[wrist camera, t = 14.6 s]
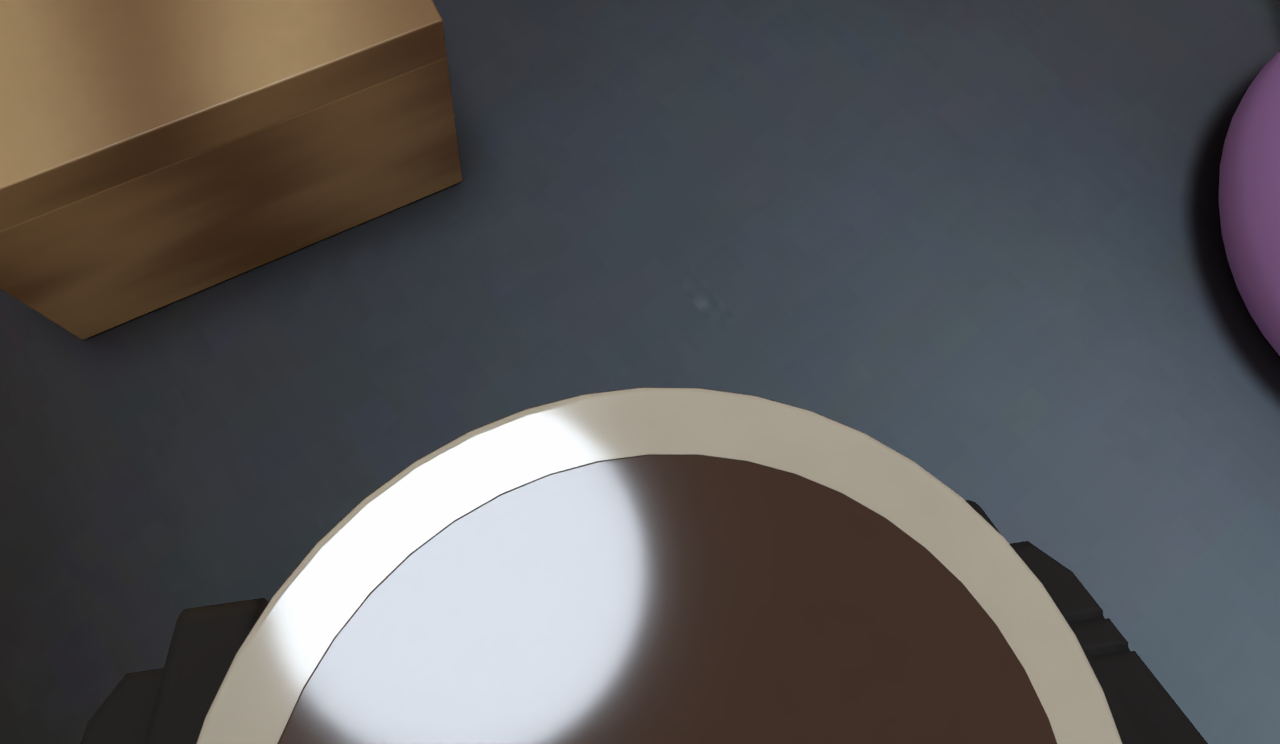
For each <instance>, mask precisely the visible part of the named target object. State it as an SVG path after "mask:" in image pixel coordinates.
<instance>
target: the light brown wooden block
mask: <svg viewBox="0 0 1280 744" xmlns="http://www.w3.org/2000/svg"><path fill="white" fill-rule="evenodd" d="M461 181H462V174H461V166H460V158H459V149H458V141H457V133H456V125H455V117H454V109H453V101H452V93H451V85H450V77H449V69H448V61H447V53H446V45H445V37H444V29H443V21H442V18H441V16H440V14H439V12H438V10H437V8H436V6H435V4H434V2H433V1H432V0H0V289H2V290H3V291H5V292H7V293H8V294H10V295H11V296H13V297H15V298H16V299H18V300H19V301H21V302H23V303H24V304H26V305H27V306H29V307H31V308H32V309H34V310H35V311H37V312H39V313H40V314H42V315H43V316H45V317H46V318H48V319H50V320H51V321H53V322H54V323H56V324H58V325H59V326H61V327H62V328H64V329H66V330H67V331H69V332H70V333H72V334H74V335H75V336H77V337H78V338H80V339H82V340H84V339H87V338H89V337H91V336H94V335H96V334H98V333H101V332H103V331H106V330H108V329H110V328H113V327H115V326H118V325H120V324H122V323H125V322H127V321H130V320H132V319H134V318H137V317H139V316H141V315H144V314H146V313H149V312H151V311H153V310H156V309H158V308H161V307H163V306H165V305H168V304H170V303H173V302H175V301H177V300H180V299H182V298H184V297H187V296H189V295H192V294H194V293H196V292H199V291H201V290H204V289H206V288H208V287H211V286H213V285H216V284H218V283H220V282H223V281H225V280H227V279H230V278H232V277H235V276H237V275H239V274H242V273H244V272H247V271H249V270H251V269H254V268H256V267H259V266H261V265H263V264H266V263H268V262H270V261H273V260H275V259H278V258H280V257H282V256H285V255H287V254H290V253H292V252H294V251H297V250H299V249H301V248H304V247H306V246H309V245H311V244H313V243H316V242H318V241H321V240H323V239H325V238H328V237H330V236H333V235H335V234H337V233H340V232H342V231H344V230H347V229H349V228H352V227H354V226H356V225H359V224H361V223H364V222H366V221H368V220H371V219H373V218H376V217H378V216H380V215H383V214H385V213H387V212H390V211H392V210H395V209H397V208H399V207H402V206H404V205H407V204H409V203H411V202H414V201H416V200H419V199H421V198H423V197H426V196H428V195H430V194H433V193H435V192H438V191H440V190H442V189H445V188H447V187H450V186H452V185H454V184H457V183H459V182H461Z"/></svg>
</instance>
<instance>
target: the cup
mask: <svg viewBox="0 0 1280 744" xmlns="http://www.w3.org/2000/svg"><path fill="white" fill-rule="evenodd" d="M196 744H1122V742H1121V739H1120V736H1119V733H1118V731H1117V728H1116V725H1115V722H1114V719H1113V717H1112V714H1111V711H1110V708H1109V706H1108V703H1107V700H1106V697H1105V695H1104V692H1103V690H1102V688H1101V686H1100V684H1099V682H1098V680H1097V678H1096V676H1095V674H1094V672H1093V670H1092V668H1091V666H1090V664H1089V662H1088V660H1087V658H1086V655H1085V653H1084V651H1083V649H1082V647H1081V645H1080V643H1079V641H1078V639H1077V637H1076V635H1075V634H1074V632H1073V631H1072V629H1071V628H1070V626H1069V625H1068V623H1067V622H1066V620H1065V618H1064V617H1063V615H1062V614H1061V612H1060V611H1059V609H1058V608H1057V606H1056V605H1055V603H1054V601H1053V600H1052V598H1051V597H1050V595H1049V594H1048V592H1047V591H1046V589H1045V588H1044V586H1043V584H1042V583H1041V582H1040V581H1039V580H1038V578H1037V577H1036V576H1035V575H1034V574H1033V572H1032V571H1031V570H1030V569H1029V567H1028V566H1027V565H1026V564H1025V563H1024V561H1023V560H1022V559H1021V558H1020V557H1019V555H1018V554H1017V553H1016V552H1015V551H1014V549H1013V548H1012V547H1011V546H1010V545H1009V543H1008V542H1007V541H1006V540H1005V538H1004V537H1003V536H1002V535H1001V534H1000V533H999V532H997V531H996V530H995V529H994V528H993V527H992V526H991V525H990V524H989V523H988V522H987V521H986V520H985V519H984V518H983V517H982V516H981V515H980V514H979V513H978V512H976V511H975V510H974V509H973V508H972V507H971V506H970V505H969V504H968V503H967V502H966V501H965V500H964V499H963V498H962V497H961V496H960V495H958V494H957V493H956V492H954V491H953V490H952V489H950V488H949V487H948V486H946V485H945V484H943V483H942V482H941V481H939V480H938V479H937V478H935V477H934V476H933V475H931V474H930V473H929V472H927V471H926V470H925V469H923V468H922V467H921V466H919V465H918V464H917V463H915V462H914V461H912V460H911V459H909V458H907V457H905V456H904V455H902V454H900V453H898V452H897V451H895V450H893V449H891V448H890V447H888V446H886V445H884V444H883V443H881V442H879V441H877V440H875V439H874V438H872V437H870V436H868V435H867V434H865V433H863V432H861V431H858V430H856V429H854V428H851V427H849V426H846V425H844V424H841V423H839V422H837V421H834V420H832V419H829V418H827V417H825V416H822V415H820V414H817V413H815V412H812V411H810V410H806V409H803V408H799V407H795V406H792V405H788V404H784V403H781V402H777V401H773V400H770V399H766V398H762V397H758V396H755V395H747V394H740V393H733V392H726V391H718V390H711V389H704V388H669V387H639V388H631V389H622V390H614V391H606V392H598V393H590V394H582V395H578V396H574V397H570V398H566V399H563V400H559V401H555V402H551V403H547V404H543V405H539V406H535V407H531V408H527V409H524V410H522V411H519V412H517V413H514V414H511V415H509V416H506V417H504V418H501V419H499V420H496V421H494V422H491V423H489V424H486V425H484V426H481V427H479V428H476V429H474V430H471V431H469V432H467V433H465V434H463V435H462V436H460V437H458V438H456V439H454V440H453V441H451V442H449V443H447V444H445V445H444V446H442V447H440V448H438V449H436V450H434V451H433V452H431V453H429V454H427V455H425V456H424V457H422V458H420V459H418V460H416V461H415V462H413V463H412V464H411V465H409V466H408V467H406V468H405V469H404V470H402V471H401V472H400V473H398V474H397V475H396V476H394V477H393V478H391V479H390V480H389V481H387V482H386V483H385V484H383V485H382V486H380V487H379V488H378V489H376V490H375V491H374V492H372V493H371V494H369V495H368V496H367V497H365V498H364V499H363V500H362V501H361V502H360V503H359V504H358V505H357V506H355V507H354V508H353V509H352V510H351V511H350V512H349V513H348V514H347V515H346V516H345V517H344V518H343V519H342V520H341V521H339V522H338V523H337V524H336V525H335V526H334V527H333V528H332V529H331V530H330V531H329V532H328V533H327V534H326V535H325V536H324V537H322V538H321V539H320V540H319V541H318V542H317V543H316V544H315V545H314V547H313V548H312V549H311V550H310V551H309V553H308V554H307V555H306V556H305V557H304V559H303V560H302V561H301V562H300V564H299V565H298V566H297V567H296V568H295V570H294V571H293V572H292V573H291V574H290V576H289V577H288V578H287V579H286V580H285V582H284V583H283V584H282V585H281V586H280V588H279V589H278V590H277V591H276V592H275V594H274V595H273V596H272V598H271V599H270V601H269V603H268V604H267V606H266V607H265V609H264V610H263V612H262V613H261V615H260V617H259V618H258V620H257V621H256V623H255V624H254V626H253V627H252V629H251V631H250V632H249V634H248V635H247V637H246V638H245V640H244V641H243V643H242V645H241V646H240V648H239V649H238V651H237V652H236V654H235V656H234V658H233V660H232V662H231V665H230V667H229V669H228V671H227V673H226V675H225V677H224V679H223V681H222V683H221V685H220V687H219V689H218V691H217V694H216V696H215V698H214V700H213V702H212V704H211V706H210V708H209V710H208V712H207V714H206V716H205V719H204V722H203V725H202V728H201V731H200V734H199V737H198V740H197V742H196Z"/></svg>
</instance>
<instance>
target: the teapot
mask: <svg viewBox="0 0 1280 744" xmlns="http://www.w3.org/2000/svg"><path fill="white" fill-rule="evenodd" d="M1219 212H1220V223H1221V232H1222V238H1223V242H1224V247H1225V251H1226V256H1227V260H1228V263H1229V266H1230V269H1231V272H1232V275H1233V278H1234V280H1235V283H1236V286H1237V289H1238V291H1239V293H1240V295H1241V297H1242V299H1243V301H1244V303H1245V305H1246V307H1247V309H1248V312H1249V313H1250V315H1251V317H1252V318H1253V320H1254V321H1255V323H1256V324H1257V326H1258V328H1259V329H1260V331H1261V332H1262V334H1263V335H1264V337H1265V338H1266V340H1267V341H1268V342H1269V343H1270V345H1271V346H1272V347H1273V348H1274V350H1275V351H1276V352H1277V353H1278V355H1279V356H1280V51H1279V52H1278V53H1277V54H1276V55H1275V56H1274V57H1273V58H1272V59H1271V60H1270V61H1269V62H1268V63H1267V64H1266V65H1265V66H1264V67H1263V68H1262V70H1261V71H1260V72H1259V74H1258V75H1257V76H1256V78H1255V79H1254V80H1253V82H1252V83H1251V84H1250V86H1249V88H1248V89H1247V91H1246V93H1245V95H1244V96H1243V98H1242V100H1241V102H1240V104H1239V106H1238V108H1237V110H1236V112H1235V113H1234V115H1233V117H1232V120H1231V123H1230V126H1229V129H1228V132H1227V135H1226V138H1225V141H1224V146H1223V152H1222V157H1221V163H1220V176H1219Z"/></svg>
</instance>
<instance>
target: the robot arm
mask: <svg viewBox="0 0 1280 744" xmlns="http://www.w3.org/2000/svg"><path fill="white" fill-rule="evenodd" d="M966 502H967V503H968V504H969V505H970V506H971V507H972V508H973V509H974V510H975V511H976V512H978V513H979V514H980V515H981V516H982V517H983V518H984V519H985V520H986V521H987V522H988V523H989V524H990V525H991V526H992V527H993V528H994V529H995V530H996V531H997V532H999V531H998V530H997V528H996V527H995V526H994V524H993V523H992V522H991V520H990V519H989V518H988V516H987V515H986V514H985V512H984V511H983V510H982V509H981V507H980V506H979V505H977V504H976V503H975V502H973V501H969V500H966ZM1009 545H1010V546H1011V547H1012V548H1013V549H1014V551H1015V552H1016V553H1017V554H1018V555H1019V557H1020V558H1021V559H1022V560H1023V561H1024V563H1025V564H1026V565H1027V566H1028V567H1029V569H1030V570H1031V571H1032V572H1033V574H1034V575H1035V576H1036V577H1037V578H1038V580H1039V581H1040V582H1041V583H1042V584H1043V586H1044V588H1045V589H1046V591H1047V592H1048V594H1049V595H1050V597H1051V598H1052V600H1053V601H1054V603H1055V605H1056V606H1057V608H1058V609H1059V611H1060V612H1061V614H1062V615H1063V617H1064V618H1065V620H1066V622H1067V623H1068V625H1069V626H1070V628H1071V629H1072V631H1073V632H1074V634H1075V635H1076V637H1077V639H1078V641H1079V643H1080V645H1081V647H1082V649H1083V651H1084V653H1085V655H1086V658H1087V660H1088V662H1089V664H1090V666H1091V668H1092V670H1093V672H1094V674H1095V676H1096V678H1097V680H1098V682H1099V684H1100V686H1101V688H1102V690H1103V692H1104V695H1105V697H1106V700H1107V703H1108V706H1109V708H1110V711H1111V714H1112V717H1113V719H1114V722H1115V725H1116V728H1117V731H1118V733H1119V736H1120V739H1121V742H1122V744H1208V743H1207V742H1206V741H1205V740H1204V738H1203V737H1202V736H1201V735H1200V733H1199V732H1198V731H1197V729H1196V728H1195V727H1194V726H1193V724H1192V723H1191V722H1190V721H1189V719H1188V718H1187V717H1186V716H1185V714H1184V713H1183V712H1182V710H1181V709H1180V708H1179V707H1178V705H1177V704H1176V703H1175V702H1174V700H1173V699H1172V698H1171V697H1170V695H1169V694H1168V693H1167V691H1166V690H1165V689H1164V688H1163V686H1162V685H1161V684H1160V683H1159V681H1158V680H1157V679H1156V677H1155V676H1154V675H1153V674H1152V672H1151V671H1150V670H1149V669H1148V667H1147V666H1146V665H1145V664H1144V662H1143V661H1142V660H1141V658H1140V657H1139V656H1138V655H1137V653H1136V652H1135V651H1132V652H1131V651H1130V650H1129V648H1128V642H1127V641H1126V639H1125V638H1124V637H1123V636H1122V634H1121V633H1120V632H1119V631H1118V629H1117V628H1116V627H1115V626H1114V624H1113V623H1112V622H1111V620H1110V619H1109V618H1108V619H1105V618H1104V617H1103V610H1102V609H1101V608H1100V607H1099V605H1098V604H1097V603H1096V601H1095V600H1094V599H1093V598H1092V596H1091V595H1090V594H1089V593H1088V591H1087V590H1086V589H1085V588H1084V586H1083V585H1082V584H1081V582H1080V581H1079V580H1078V579H1077V577H1076V576H1075V575H1074V574H1073V572H1072V571H1070V570H1069V569H1067V568H1066V567H1064V566H1063V565H1061V564H1060V563H1059V562H1057V561H1056V560H1054V559H1053V558H1051V557H1050V556H1048V555H1047V554H1046V553H1044V552H1043V551H1041V550H1040V549H1038V548H1037V547H1035V546H1034V545H1032V544H1031V543H1030V542H1028V541H1026V542H1019V543H1012V544H1009ZM267 604H268V602H267V600H266V599H264V598H260V599H253V600H246V601H239V602H232V603H225V604H218V605H211V606H204V607H197V608H190V609H185V610H183V611H182V612H181V614H180V615H179V617H178V619H177V623H176V626H175V629H174V633H173V637H172V641H171V644H170V648H169V652H168V655H167V659H166V663H165V667H164V668H161V669H155V670H148V671H141V672H135V673H128V674H126V675H125V676H124V678H123V679H122V680H121V681H120V683H119V684H118V685H117V686H116V688H115V689H114V690H113V691H112V693H111V694H110V695H109V696H108V698H107V699H106V700H105V702H104V703H103V704H102V705H101V707H100V708H99V709H98V710H97V712H96V713H95V714H94V715H93V717H92V718H91V719H90V720H89V722H88V724H87V727H86V730H85V733H84V736H83V739H82V742H81V744H196V742H197V740H198V737H199V734H200V731H201V728H202V725H203V722H204V719H205V716H206V714H207V712H208V710H209V708H210V706H211V704H212V702H213V700H214V698H215V696H216V694H217V691H218V689H219V687H220V685H221V683H222V681H223V679H224V677H225V675H226V673H227V671H228V669H229V667H230V665H231V662H232V660H233V658H234V656H235V654H236V652H237V651H238V649H239V648H240V646H241V645H242V643H243V641H244V640H245V638H246V637H247V635H248V634H249V632H250V631H251V629H252V627H253V626H254V624H255V623H256V621H257V620H258V618H259V617H260V615H261V613H262V612H263V610H264V609H265V607H266V606H267Z"/></svg>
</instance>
